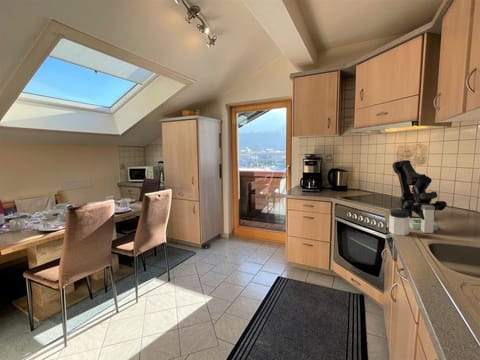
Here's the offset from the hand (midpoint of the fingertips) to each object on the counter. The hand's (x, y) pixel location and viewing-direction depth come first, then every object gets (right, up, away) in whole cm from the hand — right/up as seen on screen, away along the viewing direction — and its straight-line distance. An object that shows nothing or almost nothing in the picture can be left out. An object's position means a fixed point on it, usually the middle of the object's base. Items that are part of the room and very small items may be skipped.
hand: (428, 219), depth 126 cm
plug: (+1, -7, +2) cm, 7 cm away
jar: (-14, -8, +3) cm, 16 cm away
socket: (+4, -6, +11) cm, 13 cm away
